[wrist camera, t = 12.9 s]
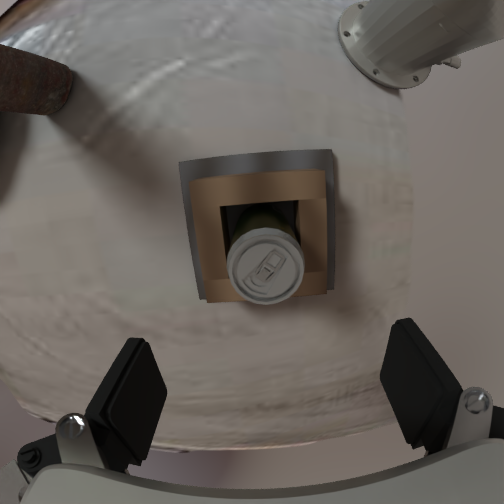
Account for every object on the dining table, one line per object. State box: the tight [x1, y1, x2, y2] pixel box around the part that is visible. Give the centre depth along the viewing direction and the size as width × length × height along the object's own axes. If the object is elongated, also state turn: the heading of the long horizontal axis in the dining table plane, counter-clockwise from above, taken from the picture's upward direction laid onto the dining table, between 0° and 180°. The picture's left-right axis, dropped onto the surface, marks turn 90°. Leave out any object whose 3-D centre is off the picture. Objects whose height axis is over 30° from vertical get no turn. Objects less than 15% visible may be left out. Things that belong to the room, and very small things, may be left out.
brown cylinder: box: [0, 44, 73, 115], centre depth 15 cm, size 8×7×20 cm
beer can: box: [227, 203, 305, 305], centre depth 23 cm, size 5×5×12 cm
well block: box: [179, 149, 335, 303], centre depth 28 cm, size 16×16×6 cm
